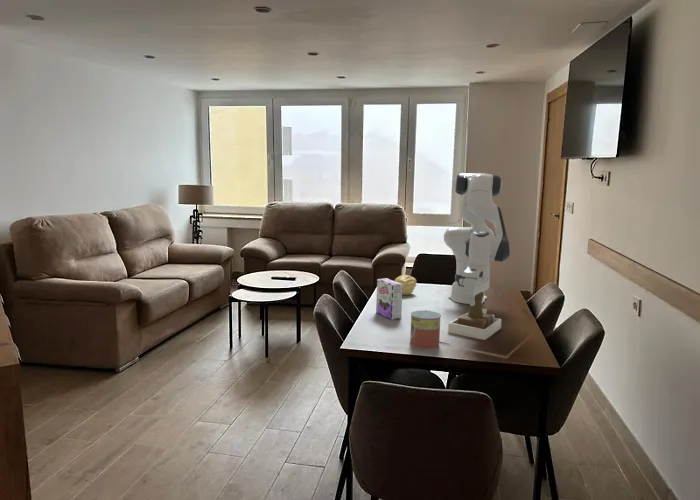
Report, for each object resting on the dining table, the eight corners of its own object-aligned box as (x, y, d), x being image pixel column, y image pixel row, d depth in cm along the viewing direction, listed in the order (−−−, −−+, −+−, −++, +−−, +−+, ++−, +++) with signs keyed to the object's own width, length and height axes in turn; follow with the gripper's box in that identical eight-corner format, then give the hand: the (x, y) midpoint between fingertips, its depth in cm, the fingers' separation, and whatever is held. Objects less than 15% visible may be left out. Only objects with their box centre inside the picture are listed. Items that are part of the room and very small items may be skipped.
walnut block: (469, 324, 219) (470, 310, 218) (492, 328, 213) (493, 314, 212) (457, 332, 207) (457, 317, 206) (480, 336, 202) (481, 322, 201)
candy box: (375, 312, 238) (376, 278, 235) (386, 311, 240) (387, 277, 238) (390, 320, 226) (392, 284, 223) (401, 318, 228) (403, 283, 226)
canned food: (407, 339, 199) (408, 310, 197) (435, 339, 200) (436, 310, 198) (412, 349, 188) (414, 318, 186) (442, 349, 189) (444, 318, 187)
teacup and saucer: (496, 318, 234) (497, 310, 233) (487, 321, 228) (487, 313, 228) (480, 314, 240) (480, 306, 239) (470, 317, 235) (471, 309, 234)
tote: (465, 323, 223) (466, 312, 222) (500, 330, 214) (501, 319, 213) (447, 334, 207) (448, 322, 206) (484, 342, 198) (485, 330, 197)
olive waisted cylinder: (485, 316, 209) (487, 290, 208) (478, 319, 205) (479, 293, 203) (472, 313, 213) (474, 288, 212) (465, 316, 209) (466, 290, 207)
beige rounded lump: (405, 297, 269) (405, 277, 267) (388, 293, 278) (389, 274, 276) (418, 294, 277) (419, 275, 275) (402, 290, 285) (403, 272, 284)
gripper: (480, 266, 217) (478, 297, 219) (461, 273, 200) (459, 306, 202) (494, 268, 213) (492, 299, 215) (477, 275, 196) (475, 309, 198)
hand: (476, 303), depth 208 cm, fingers open, 8 cm apart
